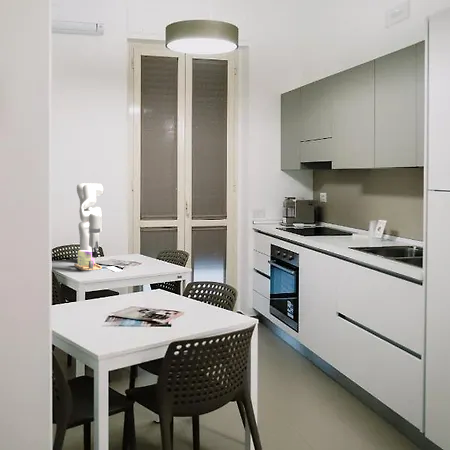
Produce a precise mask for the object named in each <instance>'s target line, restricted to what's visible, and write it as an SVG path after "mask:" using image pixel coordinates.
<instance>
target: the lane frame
mask: <svg viewBox="0 0 450 450" xmlns="http://www.w3.org/2000/svg"><path fill="white" fill-rule="evenodd" d="M73 266H74V267H75V268H76V269H78V270H80V271H92V270H93V271H94V270H95V271H96V270H102V269H103V267H102V266H101V265H99V264H97V263H96V262H95V263H94V265H93V261H89V265H84V266H79V265H78V263H74V265H73Z"/></svg>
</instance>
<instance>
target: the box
mask: <svg viewBox="0 0 450 450" xmlns="http://www.w3.org/2000/svg"><path fill="white" fill-rule="evenodd" d="M89 261H93V265H94V261H95V258H93V257H92V251H88V250H80V249H79V250H77V265H79V266H84V265H89Z"/></svg>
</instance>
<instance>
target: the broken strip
mask: <svg viewBox="0 0 450 450" xmlns="http://www.w3.org/2000/svg"><path fill="white" fill-rule="evenodd" d="M105 268H106V269H108V270H110V271H112V272H113V273H118V272H119V273H121V272H123V269H121V268H118V267H116V266H105Z"/></svg>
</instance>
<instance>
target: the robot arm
mask: <svg viewBox="0 0 450 450" xmlns="http://www.w3.org/2000/svg"><path fill="white" fill-rule="evenodd" d="M104 191H105V190H104V186H103V184H102V183H99V182H82V183H81V182H80V183H78V184H77V186H76V193H77V196H78V199H79V211H78V212H79V220H80V222H79V223H78V226H77V227H78V232H79V233H78V235H79V250H88V251H92V257H93V258H94V259H95V258H98V248H100V234H102V232H103V229H104V228H103V209H102V208H101V206H97V205H96V204H97V203H98V199H97V196H102V195H104ZM95 205H96V206H95ZM94 263H96V261H95V260H94Z"/></svg>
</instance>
